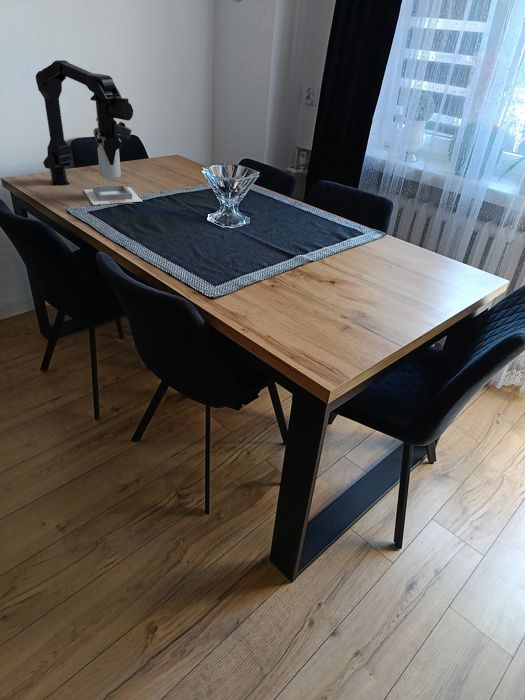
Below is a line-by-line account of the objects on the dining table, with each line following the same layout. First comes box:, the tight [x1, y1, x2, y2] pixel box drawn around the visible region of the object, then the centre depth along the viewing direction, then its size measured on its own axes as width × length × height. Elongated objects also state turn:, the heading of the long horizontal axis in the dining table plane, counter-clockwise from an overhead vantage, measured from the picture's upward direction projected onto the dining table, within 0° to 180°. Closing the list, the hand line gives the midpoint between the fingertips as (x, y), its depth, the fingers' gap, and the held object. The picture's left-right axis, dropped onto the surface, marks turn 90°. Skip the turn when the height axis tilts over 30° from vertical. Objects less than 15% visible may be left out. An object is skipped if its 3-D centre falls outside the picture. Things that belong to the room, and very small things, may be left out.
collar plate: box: [83, 184, 143, 206], centre depth 189 cm, size 18×18×3 cm
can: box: [96, 143, 122, 180], centre depth 182 cm, size 8×8×12 cm
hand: (109, 162), depth 183 cm, fingers closed on can, 7 cm apart
